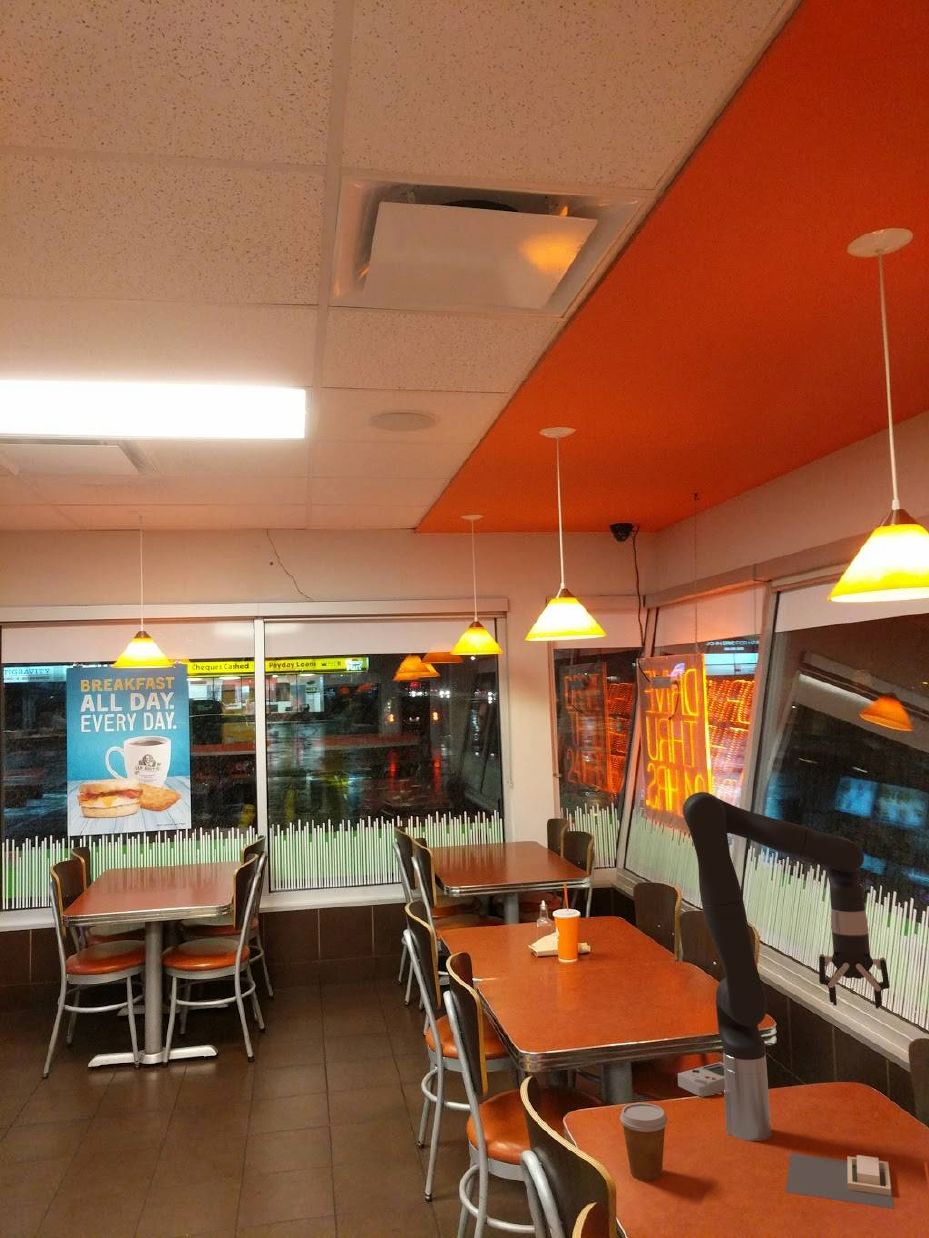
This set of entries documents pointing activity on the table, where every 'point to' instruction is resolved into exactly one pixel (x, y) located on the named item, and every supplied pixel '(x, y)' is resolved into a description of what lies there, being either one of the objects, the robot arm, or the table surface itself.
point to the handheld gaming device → (703, 1080)
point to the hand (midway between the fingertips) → (855, 1006)
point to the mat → (837, 1180)
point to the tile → (868, 1170)
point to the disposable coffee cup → (644, 1139)
